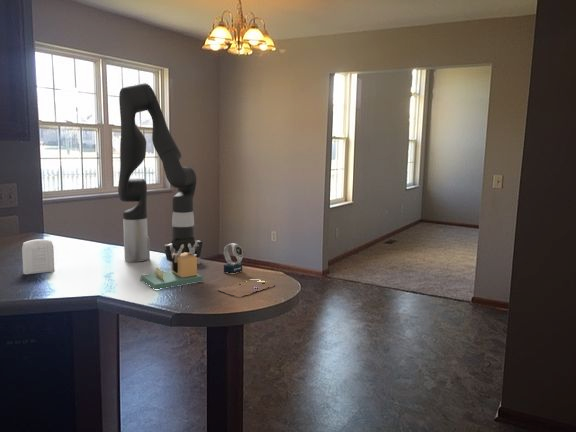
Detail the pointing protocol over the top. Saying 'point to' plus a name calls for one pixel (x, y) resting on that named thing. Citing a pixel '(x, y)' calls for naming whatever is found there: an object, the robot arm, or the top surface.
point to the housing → (186, 265)
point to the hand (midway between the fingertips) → (183, 270)
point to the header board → (168, 279)
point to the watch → (238, 253)
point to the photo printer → (38, 256)
